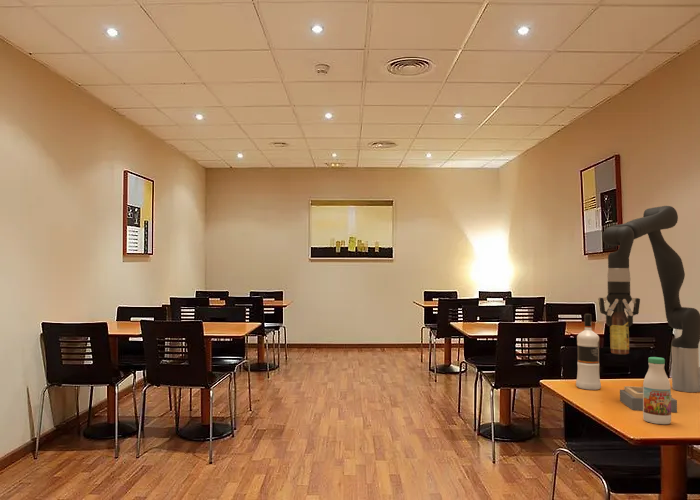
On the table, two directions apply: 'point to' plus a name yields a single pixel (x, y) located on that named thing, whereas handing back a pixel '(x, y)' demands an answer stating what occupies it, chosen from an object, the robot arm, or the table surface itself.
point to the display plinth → (638, 398)
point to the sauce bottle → (619, 330)
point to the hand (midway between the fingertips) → (619, 325)
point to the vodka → (588, 358)
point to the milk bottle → (656, 393)
